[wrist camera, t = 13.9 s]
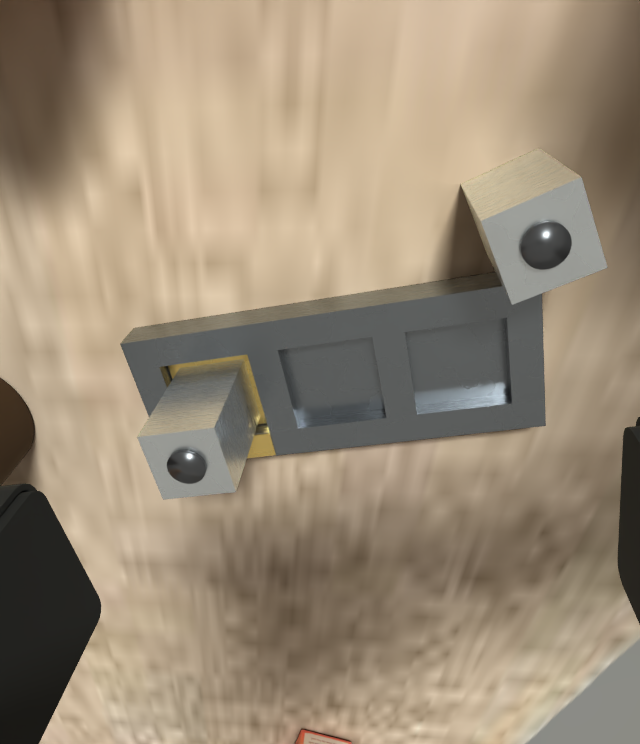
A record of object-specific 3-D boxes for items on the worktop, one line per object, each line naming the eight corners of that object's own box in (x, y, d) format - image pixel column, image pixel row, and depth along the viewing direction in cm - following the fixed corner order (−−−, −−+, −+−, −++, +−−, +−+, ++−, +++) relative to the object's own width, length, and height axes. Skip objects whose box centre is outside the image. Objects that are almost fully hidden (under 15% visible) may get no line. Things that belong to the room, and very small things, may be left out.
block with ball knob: (539, 147, 33) (583, 178, 26) (562, 221, 35) (609, 269, 27) (460, 183, 34) (481, 222, 27) (486, 253, 36) (513, 307, 29)
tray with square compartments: (532, 266, 36) (541, 281, 34) (537, 405, 41) (546, 426, 38) (133, 328, 40) (119, 344, 38) (178, 447, 45) (168, 468, 43)
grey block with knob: (243, 358, 39) (212, 430, 32) (260, 415, 41) (234, 495, 34) (179, 367, 40) (135, 440, 33) (199, 423, 42) (161, 502, 35)
